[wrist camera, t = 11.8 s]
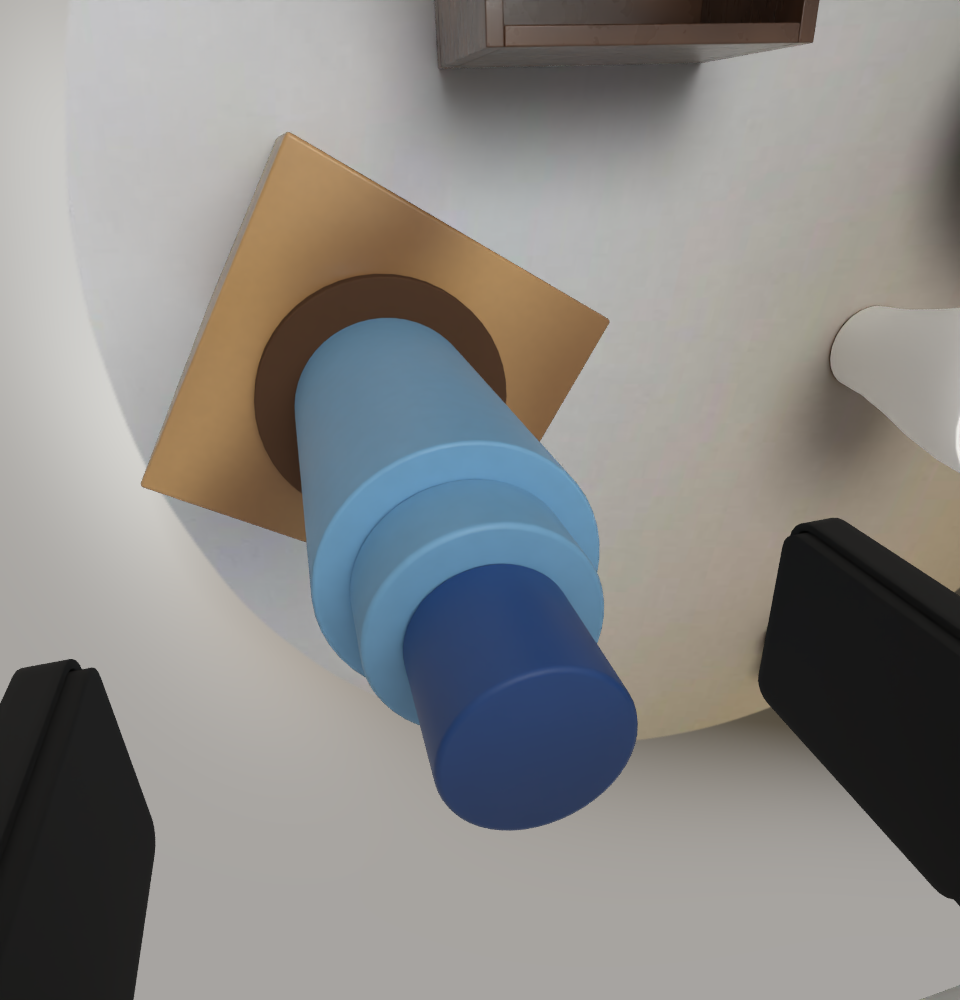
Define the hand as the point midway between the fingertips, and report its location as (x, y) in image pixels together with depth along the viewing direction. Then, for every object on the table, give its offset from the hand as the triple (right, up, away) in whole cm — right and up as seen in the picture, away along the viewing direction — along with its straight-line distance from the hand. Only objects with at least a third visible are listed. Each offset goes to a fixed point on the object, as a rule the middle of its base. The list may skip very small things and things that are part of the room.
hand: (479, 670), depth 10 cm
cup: (+28, +14, +43) cm, 54 cm away
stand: (-9, +16, +31) cm, 36 cm away
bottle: (-3, +5, +10) cm, 12 cm away
